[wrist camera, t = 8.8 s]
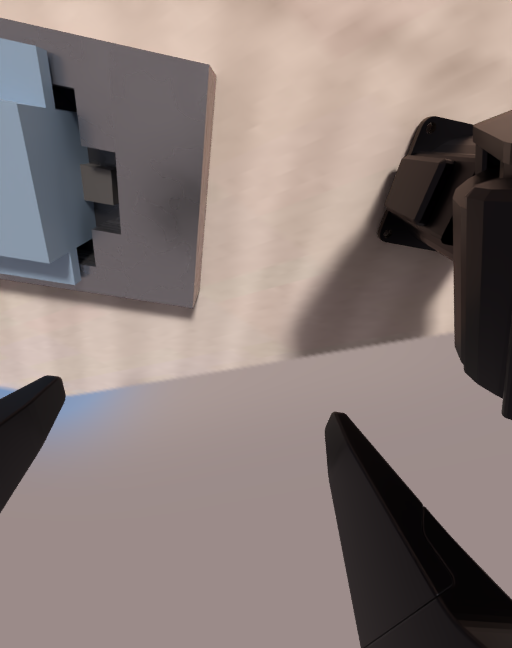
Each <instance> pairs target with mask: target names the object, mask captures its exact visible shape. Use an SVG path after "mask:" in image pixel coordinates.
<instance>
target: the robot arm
mask: <svg viewBox="0 0 512 648" xmlns="http://www.w3.org/2000/svg"><path fill="white" fill-rule="evenodd" d="M429 123H431V124H432V130H431V132H430V133H427V132H426V127H427V125H428V124H429ZM385 207H386V211H385V214H384V216H383V219H382V221H381V224H380V227H379V229H378V233H377V235H378V237H379V239H381V240H382V241H384V242H388V243H394V244H399V245H405V246H410V247H416V248H421V249H427V250H432V251H438V252H439V253H441V254H443V255H444V256H446V257H448V258H449V259H451V260H452V261H453V264H454V332H455V348H456V350H457V353H458V355H459V358H460V360H461V362H462V363H463V365H464V371H465V373H466V374H467V375H468V376H469V377H471V378H472V379H473V380H474V381H475V382H476V383H477V384H479V385H480V386H482V387H483V388H485V389H487V390H489V391H490V392H492V393H493V394H495V395H497V396H499V397H501V398H503V404H502V415H503V416H504V417H505V418H508V419H511V420H512V110H510V111H508V112H505V113H503V114H500V115H497V116H495V117H492V118H490V119H487V120H485V121H482V122H480V123H477V124H475V125H472V124H467V123H463V122H459V121H454V120H450V119H445V118H441V117H436V116H432V117H427V118H425V119H424V120H423V121H422V122H421V123H420V125H419V126H418V129H417V132H416V134H415V137H414V139H413V142H412V144H411V147H410V149H409V152H408V155H407V156H405V157H404V158H403V159H402V160H401V163H400V165H399V168H398V170H397V173H396V176H395V178H394V181H393V183H392V186H391V189H390V191H389V194H388V197H387V199H386V202H385ZM386 230H390V232H389V234H388V235H387V236H384V232H385V231H386ZM65 396H66V395H65V390H64V386H63V382H62V379H61V378H60V377H57V376H49V375H47V376H44V377H42V378H40V379H38V380H36V381H34V382H32V383H30V384H28V385H26V386H24V387H22V388H21V389H19V390H17V391H15V392H13V393H11V394H9V395H7V396H5V397H3V398H1V399H0V513H1V511H2V509H3V508H4V506H5V505H6V503H7V501H8V500H9V498H10V497H11V495H12V494H13V492H14V490H15V489H16V487H17V486H18V484H19V482H20V481H21V479H22V478H23V476H24V475H25V473H26V471H27V470H28V468H29V467H30V465H31V464H32V462H33V460H34V459H35V457H36V456H37V454H38V452H39V451H40V449H41V447H42V446H43V444H44V442H45V440H46V438H47V436H48V434H49V432H50V430H51V428H52V426H53V424H54V421H55V420H56V418H57V416H58V414H59V412H60V410H61V408H62V406H63V404H64V401H65ZM325 442H326V454H327V466H328V477H329V483H330V488H331V493H332V499H333V504H334V509H335V514H336V519H337V525H338V530H339V536H340V541H341V546H342V551H343V557H344V562H345V567H346V572H347V577H348V582H349V588H350V593H351V599H352V604H353V609H354V614H355V620H356V625H357V630H358V635H359V640H360V646H361V648H512V599H510V597H509V596H508V595H507V594H506V593H505V592H504V591H503V590H502V589H501V588H500V587H499V586H498V585H497V584H496V583H495V582H494V581H493V580H492V579H491V578H490V577H489V576H488V575H487V574H486V573H485V572H484V570H482V568H481V567H480V566H479V565H478V564H477V563H476V562H475V561H474V560H473V559H472V558H471V557H470V556H469V555H468V554H467V553H466V552H465V551H464V550H463V549H462V548H461V547H460V546H459V545H458V543H457V542H456V541H455V540H454V539H453V538H452V537H451V536H450V535H449V534H448V533H447V532H446V530H445V529H444V528H443V527H442V526H441V525H440V523H439V522H438V521H437V520H436V519H435V518H434V517H433V516H432V514H431V513H430V512H429V511H428V510H427V509H426V507H424V506H423V504H422V503H421V502H420V500H419V499H418V498H417V497H416V496H415V495H414V493H413V492H412V491H411V490H410V489H409V487H408V486H407V485H406V484H405V483H404V482H403V481H402V479H401V478H400V477H399V476H398V475H397V473H396V472H395V471H394V470H393V469H392V468H391V467H390V465H389V464H388V463H387V462H386V461H385V459H384V458H383V457H382V456H381V455H380V454H379V452H378V451H377V450H376V449H375V448H374V446H373V445H371V443H370V442H369V441H368V440H367V439H366V437H365V436H364V435H363V434H362V432H361V431H360V430H359V429H358V428H357V427H356V426H355V424H354V423H353V422H352V421H351V420H350V418H349V417H348V416H347V415H346V414H345V413H340V412H333V413H332V414H331V416H330V418H329V421H328V423H327V425H326V428H325Z"/></svg>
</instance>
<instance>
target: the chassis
mask: <svg viewBox="0 0 512 648" xmlns="http://www.w3.org/2000/svg"><path fill="white" fill-rule="evenodd" d="M0 38H2V39H7V40H11V41H16V42H20V43H25V44H29V45H34V46H37V47H39V48H42V49H44V50H47V57H48V63H49V70H50V76H51V83H52V90H53V96H54V103H55V108H58V109H63V110H68V111H72V112H77V116H78V124H79V132H80V140H81V146H85V147H87V149H88V158H89V163H90V164H95V165H101V166H106V167H111V168H116V169H117V182H118V197H119V203H118V204H115V205H109V204H103V203H98V202H93V203H94V212H95V221H96V227H95V228H93V229H91V230H92V239H91V240H89V241H87V242H85V243H84V244H82V245H80V246H79V247H77V255H78V262H79V268H80V275H81V281H80V282H78V283H77V284H76V285H71V284H65V283H58V282H52V281H46V280H39V279H33V278H26V277H20V276H14V275H7V274H1V273H0V279H5V280H11V281H18V282H24V283H31V284H37V285H44V286H51V287H57V288H64V289H70V290H77V291H83V292H90V293H96V294H103V295H109V296H116V297H122V298H129V299H135V300H142V301H149V302H155V303H162V304H168V305H175V306H181V307H188V308H193V306H194V304H195V301H196V299H197V296H198V293H199V290H200V277H201V264H202V252H203V239H204V226H205V214H206V201H207V189H208V176H209V163H210V151H211V138H212V125H213V113H214V100H215V87H216V74H215V73H214V71H213V70H212V68H211V67H210V65H208V64H203V63H199V62H194V61H190V60H185V59H181V58H177V57H172V56H168V55H163V54H159V53H154V52H150V51H145V50H141V49H137V48H132V47H128V46H123V45H119V44H114V43H110V42H106V41H101V40H97V39H92V38H88V37H83V36H79V35H74V34H70V33H66V32H61V31H57V30H52V29H48V28H43V27H39V26H34V25H30V24H26V23H21V22H17V21H12V20H8V19H3V18H0Z"/></svg>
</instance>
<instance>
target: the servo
mask: <svg viewBox="0 0 512 648" xmlns="http://www.w3.org/2000/svg"><path fill="white" fill-rule="evenodd" d="M93 202H98V203H103V204H109V205H115V204H118V203H119V197H118V182H117V169H116V168H111V167H106V166H101V165H95V164H90V163H89V158H88V149H87V147H85V146H81V140H80V132H79V124H78V116H77V112H72V111H68V110H63V109H58V108H55V103H54V96H53V90H52V83H51V76H50V70H49V63H48V57H47V50H44V49H42V48H39V47H37V46H34V45H29V44H25V43H20V42H16V41H11V40H7V39H2V38H0V273H1V274H7V275H14V276H20V277H26V278H33V279H39V280H46V281H52V282H58V283H65V284H71V285H76V284H77V283H78V282H80V281H81V275H80V268H79V262H78V255H77V247H79V246H80V245H82V244H84V243H85V242H87V241H89V240H91V239H92V230H91V229H93V228H95V227H96V221H95V212H94V203H93Z"/></svg>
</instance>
